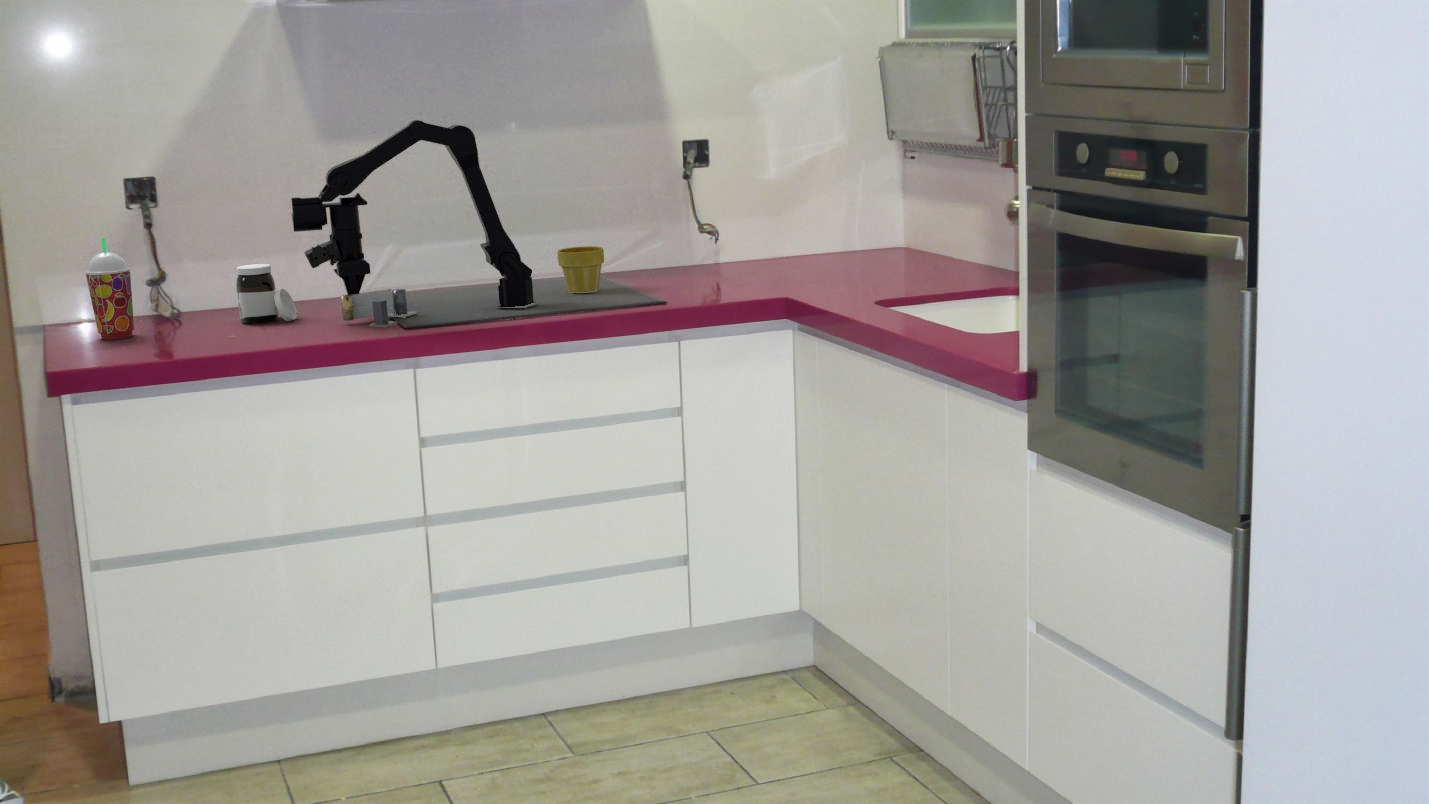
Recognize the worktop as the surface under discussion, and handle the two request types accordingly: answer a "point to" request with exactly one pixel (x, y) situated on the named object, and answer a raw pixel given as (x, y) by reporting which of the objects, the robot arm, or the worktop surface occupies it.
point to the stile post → (381, 315)
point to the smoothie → (111, 294)
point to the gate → (364, 303)
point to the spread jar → (261, 296)
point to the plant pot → (581, 267)
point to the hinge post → (399, 302)
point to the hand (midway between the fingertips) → (353, 303)
